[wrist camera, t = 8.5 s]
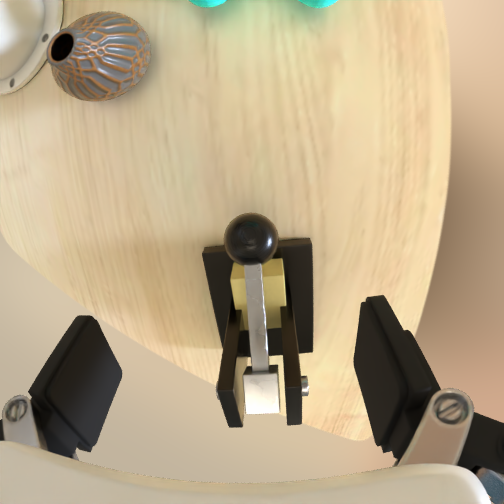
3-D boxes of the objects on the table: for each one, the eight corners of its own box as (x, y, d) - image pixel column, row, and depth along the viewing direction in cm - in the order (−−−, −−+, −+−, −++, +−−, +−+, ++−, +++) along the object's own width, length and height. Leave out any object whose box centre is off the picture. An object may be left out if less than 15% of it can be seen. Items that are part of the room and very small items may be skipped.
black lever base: (204, 246, 26) (165, 345, 15) (310, 237, 25) (341, 334, 14) (226, 349, 31) (211, 450, 20) (311, 344, 31) (327, 445, 19)
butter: (233, 262, 25) (230, 279, 23) (282, 257, 25) (284, 274, 22) (241, 311, 27) (239, 330, 25) (285, 307, 27) (287, 327, 25)
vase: (119, 117, 21) (56, 125, 14) (74, 70, 19) (7, 66, 11) (178, 56, 19) (135, 30, 11) (127, 10, 17) (72, -22, 9)
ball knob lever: (227, 222, 22) (217, 209, 19) (276, 217, 22) (275, 203, 19) (240, 399, 21) (233, 418, 17) (289, 397, 20) (291, 415, 17)
